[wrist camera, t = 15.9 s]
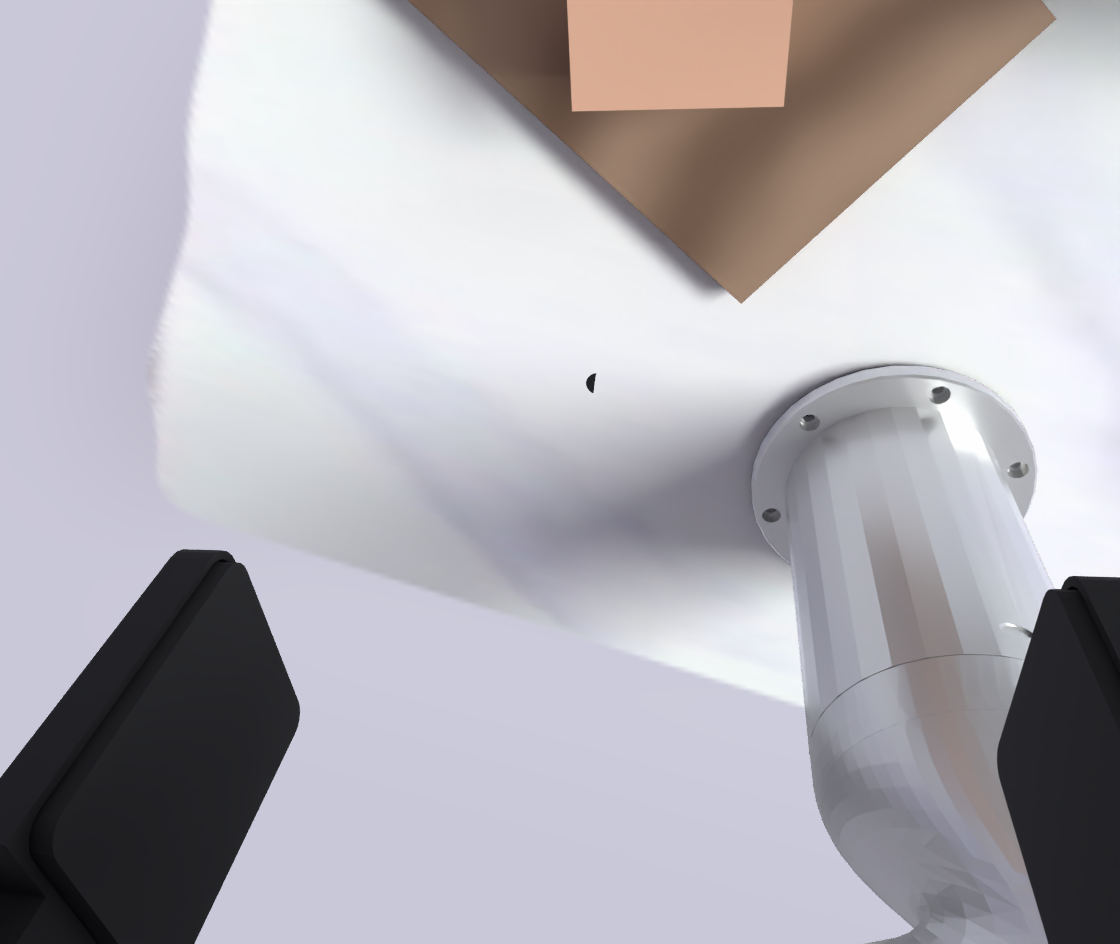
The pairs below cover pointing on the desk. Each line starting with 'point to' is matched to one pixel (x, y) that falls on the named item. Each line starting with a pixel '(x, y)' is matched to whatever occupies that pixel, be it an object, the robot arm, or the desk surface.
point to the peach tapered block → (678, 53)
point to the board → (760, 116)
